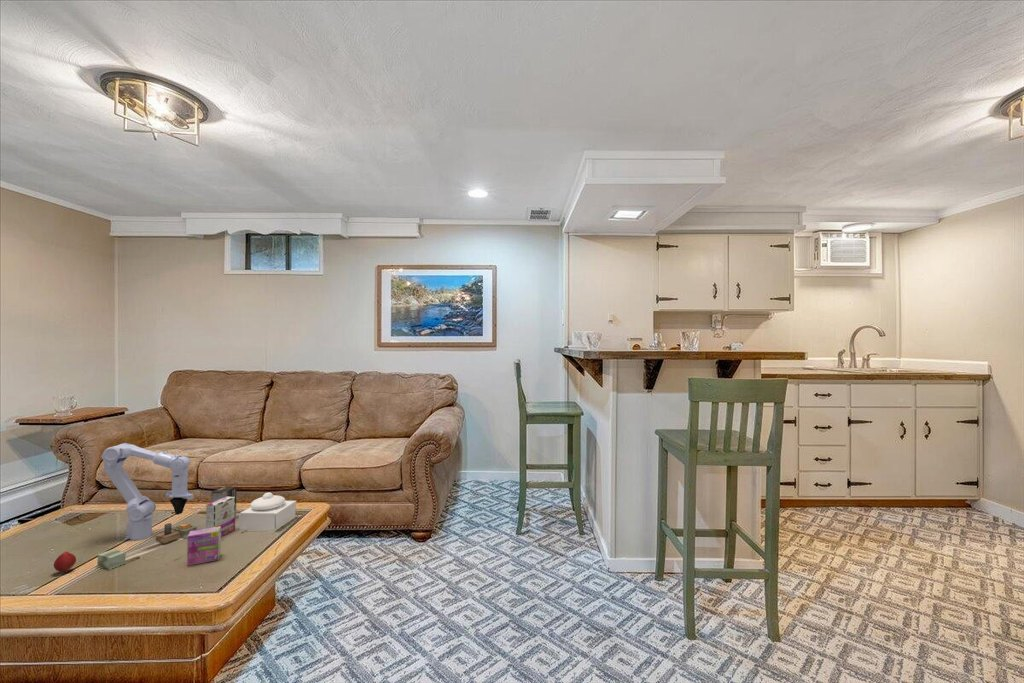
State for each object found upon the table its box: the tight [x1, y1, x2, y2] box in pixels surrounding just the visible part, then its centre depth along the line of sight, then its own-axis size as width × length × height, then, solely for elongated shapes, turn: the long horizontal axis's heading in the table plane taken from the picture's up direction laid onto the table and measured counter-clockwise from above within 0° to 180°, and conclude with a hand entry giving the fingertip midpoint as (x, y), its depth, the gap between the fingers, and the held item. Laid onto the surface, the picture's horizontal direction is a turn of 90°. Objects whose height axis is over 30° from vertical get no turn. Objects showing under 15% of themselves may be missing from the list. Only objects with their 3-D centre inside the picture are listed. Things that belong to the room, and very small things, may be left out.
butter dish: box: [238, 492, 297, 532], centre depth 209 cm, size 18×18×16 cm
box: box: [186, 526, 222, 567], centre depth 172 cm, size 10×6×12 cm, turn 117°
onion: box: [53, 550, 77, 573], centre depth 163 cm, size 6×6×8 cm
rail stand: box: [96, 525, 198, 570], centre depth 181 cm, size 8×32×4 cm, turn 160°
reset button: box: [178, 522, 192, 530], centre depth 193 cm, size 3×3×4 cm
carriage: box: [155, 522, 180, 543], centre depth 187 cm, size 6×6×6 cm
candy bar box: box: [205, 496, 236, 538], centre depth 195 cm, size 11×5×16 cm, turn 168°
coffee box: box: [211, 485, 237, 519], centre depth 213 cm, size 9×6×16 cm
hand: (178, 513), depth 196 cm, fingers closed
